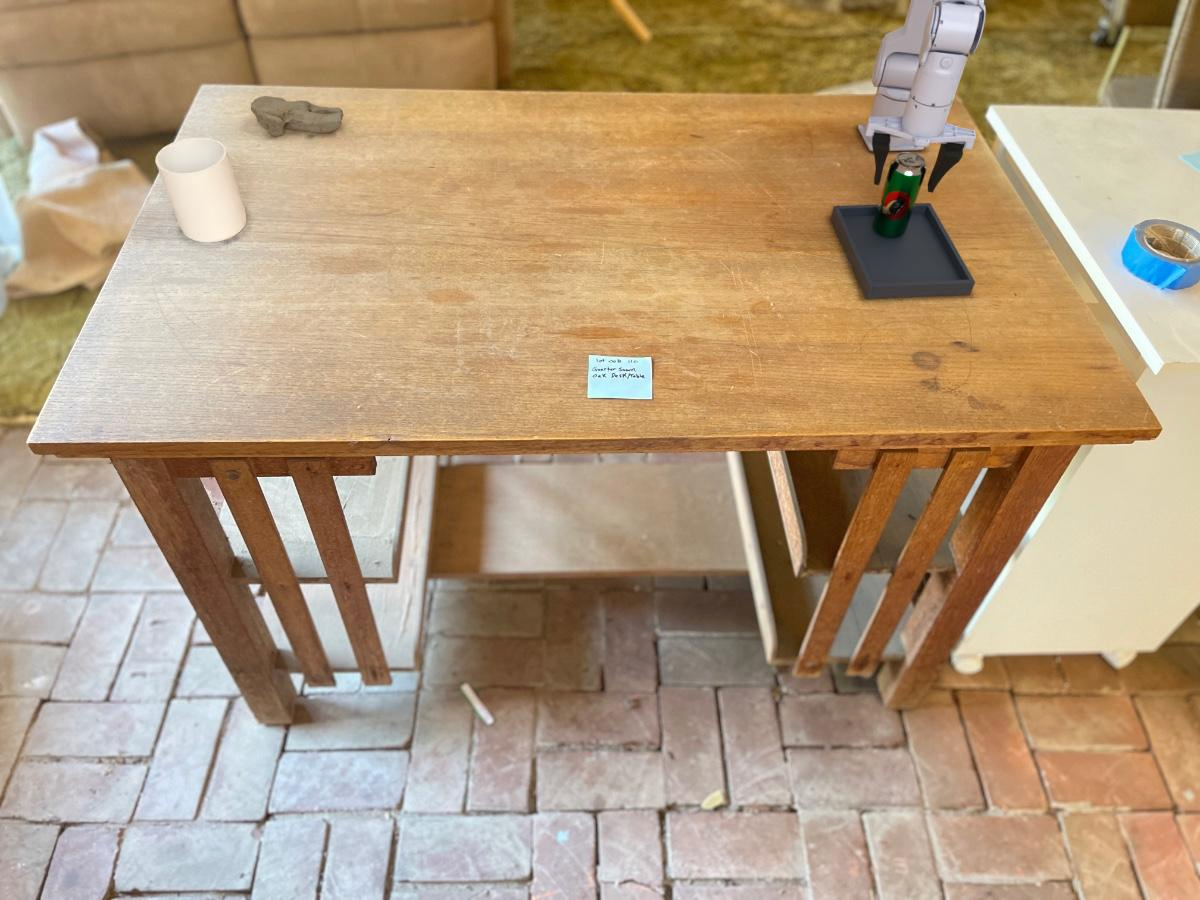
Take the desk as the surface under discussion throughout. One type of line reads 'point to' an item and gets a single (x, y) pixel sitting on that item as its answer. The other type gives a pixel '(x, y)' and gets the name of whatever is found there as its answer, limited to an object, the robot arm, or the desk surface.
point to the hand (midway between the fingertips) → (903, 184)
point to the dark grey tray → (901, 255)
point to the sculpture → (295, 116)
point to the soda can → (899, 194)
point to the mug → (202, 189)
